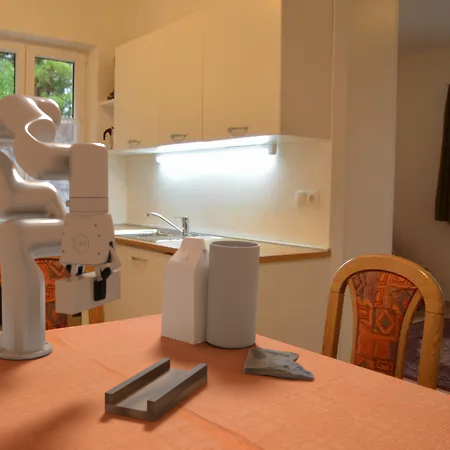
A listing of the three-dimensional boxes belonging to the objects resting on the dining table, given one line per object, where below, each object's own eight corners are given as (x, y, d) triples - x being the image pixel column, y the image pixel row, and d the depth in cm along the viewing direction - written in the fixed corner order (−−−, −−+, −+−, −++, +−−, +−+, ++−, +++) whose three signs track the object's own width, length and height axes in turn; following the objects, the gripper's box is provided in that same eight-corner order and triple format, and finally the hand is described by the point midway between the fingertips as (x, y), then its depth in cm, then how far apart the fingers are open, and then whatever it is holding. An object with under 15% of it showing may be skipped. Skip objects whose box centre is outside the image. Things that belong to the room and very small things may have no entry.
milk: (224, 335, 154) (225, 237, 152) (193, 344, 146) (194, 241, 144) (191, 327, 162) (192, 234, 160) (160, 335, 154) (161, 237, 151)
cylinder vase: (197, 338, 150) (200, 241, 147) (238, 332, 156) (242, 239, 154) (222, 352, 139) (226, 248, 137) (265, 345, 146) (269, 246, 143)
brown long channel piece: (104, 411, 103) (104, 392, 103) (163, 374, 123) (164, 357, 123) (154, 421, 99) (154, 401, 99) (207, 380, 120) (207, 364, 119)
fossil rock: (247, 354, 140) (248, 344, 140) (311, 358, 138) (311, 348, 138) (241, 379, 122) (241, 367, 122) (313, 383, 121) (313, 372, 121)
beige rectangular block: (55, 312, 109) (55, 280, 109) (104, 296, 124) (104, 268, 124) (73, 314, 108) (72, 282, 107) (120, 298, 123) (120, 270, 122)
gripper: (41, 206, 114) (43, 298, 116) (114, 208, 108) (115, 306, 109) (66, 205, 121) (67, 292, 123) (136, 206, 115) (136, 299, 116)
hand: (89, 297), depth 116 cm, fingers closed on beige rectangular block, 4 cm apart
